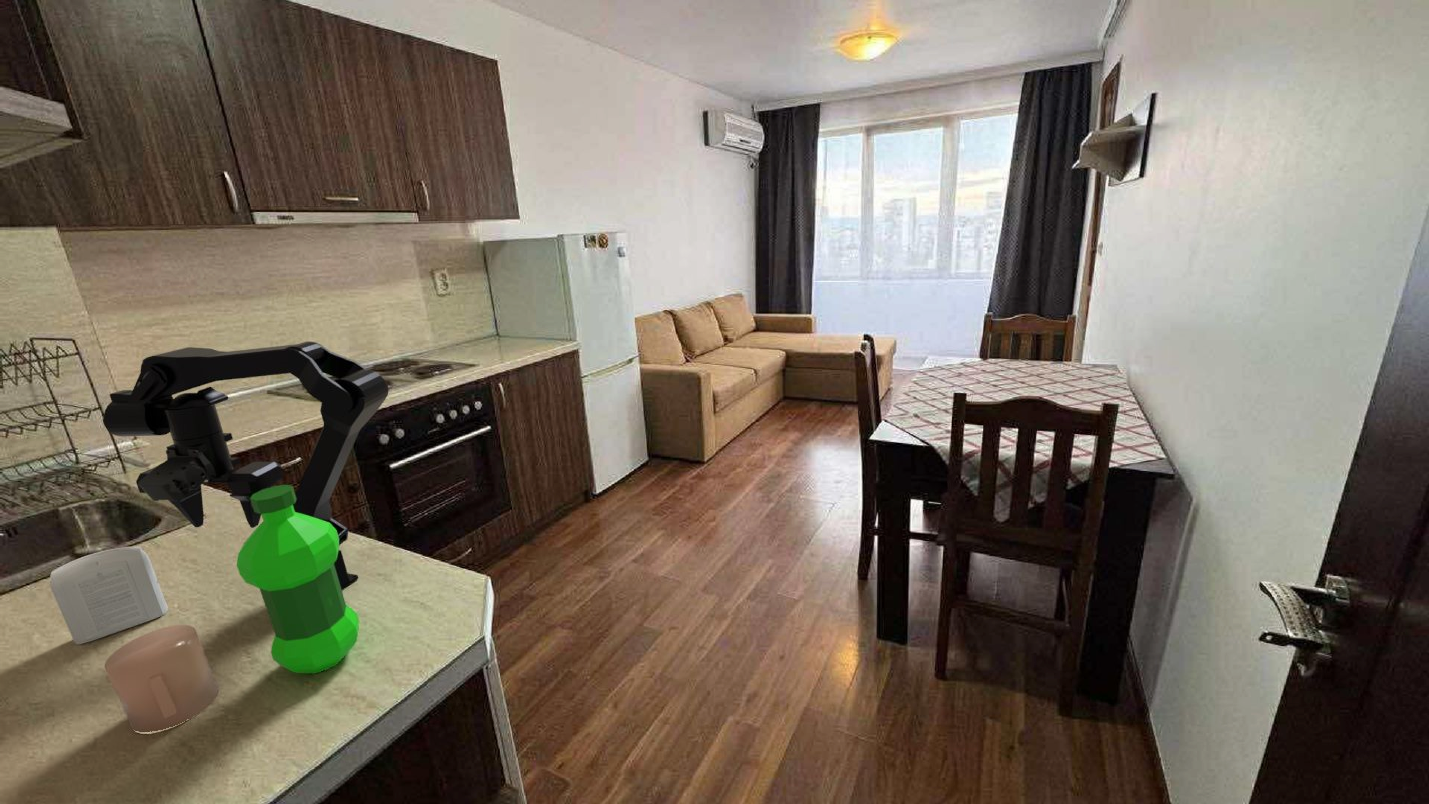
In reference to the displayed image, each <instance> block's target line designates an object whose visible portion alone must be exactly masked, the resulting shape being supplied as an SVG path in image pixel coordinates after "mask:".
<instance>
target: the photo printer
mask: <svg viewBox="0 0 1429 804" xmlns="http://www.w3.org/2000/svg"><path fill="white" fill-rule="evenodd" d="M49 577H50V581H49V586H50V590H51V591H52V592H51V593H52V594H53V596H54V597H53V598H55V602H56V603H57V606H58V608H59V611H60V612H61V615H62V618H63V619H64V621H65V625H66V626H67V628H68V631H69V633H70V634H71V637H72V640H73V641H74V643H75V644H77V645H82V644H86V643H89V642H93V641H95V640H99V639H100V638H104V637H106V636H110V635H112V634H115V633H118V632H121V631H124V630H127V629H130V628H132V627H135V626H139V625H141V624H144V623H146V622H149V621H152V620H155V619H157V618H159V617H162V616H164V615H166V613H167V612H168V610H169V607H168V605H167V602H166V599H165V597H164V594H163V592H162V591H163V590H162V589H161V586H160V583H159V581H158V578H157V575H156V573H155V569H154V567H153V565H152V562H151V560H150V557H149V556H148V554H147V553H146V552H145V551H144V550H143V548H142V547H141V546H140V545H139V546H137V545H136V546H134V545H133V546H123V547H116V548H111V549H106V550H102V551H98V552H94V553H91V554H88V555H85V556H82V557H79V558H77V559H74V560H72V561H70V562H67V563H66V564H64V565H61V566H59V567H57V568H55V569H54V570H52V571H51V573H50V575H49Z"/></svg>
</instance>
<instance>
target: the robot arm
mask: <svg viewBox="0 0 1429 804" xmlns="http://www.w3.org/2000/svg"><path fill="white" fill-rule="evenodd" d="M284 374H287V375H288V374H291V375H292V376H294V377H295V378H297V379H298V380H299V382H300V384H301V385H302V386H303V388H304V389H305V390H306V392H307V393H308V394H309V395H310V396H311V397H312V398H314V399H316V400H317V401H319V402H320V403H321V405H320V409H319V410H320V415H321V417H322V422H323V426H322V429H321V431H320V433H319V436H318V439H317V441H316V444H315V446H314V448H313V450H312V453H311V455H310V458H309V461H308V462H307V465H306V467H305V469H304V472H303V474H302V477H301V480H300V481H299V485H298V486H297V488H296V491H295V495H296V499H297V500H296V502H295V504H293V507H294V510H295V512H297V513H301V514H305V515H308V516H311V517H314V518H317V519H320V520H323V521H326V522H329V523H331V525H332V526H333V527H334V528H335V529H336V530H337V533H338V537H339V546H341V544H343V543H344V542H346V541H347V540H348V537H349V529H348V528H347V527H346V526H344V525H343V524H341V523H340V522H338V521H337V520H335V519H334V518H332V515H333V514H332V513H333V511H332V509H333V508H332V506H331V502H330V499H331V497H332V494H333V492H334V490H335V488H336V486H337V483H338V481H339V479H340V476H341V475H342V472H343V469H344V467H345V465H346V463H347V460H348V458H349V455H350V454H351V451H352V449H353V447H354V444H355V442H356V440H357V437H358V435H359V433H360V431H361V430H362V428H363V427H364V426H365V424H366V423H368V421H369V420H370V419H371V418H372V417H373V416H374V415H375V414H376V413H377V411H378V410H379V408H380V407H381V406H382V404H383V403H384V402H385V400H386V399H387V398H388V395H389V391H390V390H389V389H390V388H389V386H388V385H387V382H386V381H385V379H384V378H383V377H382V375H381V374H379V373H378V372H376V371H374V370H372V369H368V368H366V367H365V366H364V365H362V364H360V362H357V361H356V360H354V359H350V358H348V357H345V356H343V355H340V354H338V353H335V352H333V351H331V350H329V349H328V348H326V347H325V346H323V345H322V344H320V343H318V342H316V341H315V342H314V341H307V340H306V341H303V342H300V343H296V344H295V343H294V344H288V345H287V344H286V345H279V346H267V347H259V348H250V349H249V348H248V349H240V350H230V351H222V350H221V351H219V350H217V349H213V348H209V347H207V348H206V347H190V346H189V347H188V346H187V347H183V348H180V349H175V350H171V351H167V352H163V353H159V354H154V355H150V356H146V357H145V358H143V359H142V363H141V365H140V373H139V376H138V378H137V379H136V382H135V384H134V386H133V389H132V390H131V389H123V390H119V391H116V392H112V393H109V397H110V400H111V402H109V404H108V405H107V406H106V408H105V410H104V412H103V419H102V423H103V426H104V427H105V429H106V430H107V431H108V432H109V433H111V435H114V436H116V437H125V438H126V437H155V436H166V435H167V434H169V433H170V436H171V439H172V443H173V444H170V445H168V446H166V450H165V453H166V460H165V461H163V462H162V463H160V464H158V465H157V466H155V467H153V468H150V469H147V470H145V471H143V472H140V473H139V475H138V477H137V479H136V480H135V483H136V486H137V489H138V491H139V493H140V494H146V495H147V496H148V497H149V498H150V499H151V500H152V501H155V502H159V501H168V502H170V503H171V504H172V506H174V507H175V508H176V509H177V510H178V511H179V512H180V513H181V514H182V515H183V516H184V517H185V518H186V519H187V521H189V523H190V524H191V525H192V526H193V527H194V528H200V527H202V526H203V525H204V518H205V513H204V503H203V502H204V501H203V493H202V492H203V491H202V485H203V484H204V483H214V484H215V483H216V484H217V483H226V485H227V488H228V489H229V490H230V491H232V492H233V493H231V494H229V497H231V498H232V499H235V500H238V501H239V503H240V505H241V508H242V511H243V514H244V517H245V519H246V521H247V523H248V525H249V527H250V528H251V529H253V528H257V527H258V526H259V525H260V520H261V517H262V515H261V514H259V513H256V512H254V509H253V506H252V503H251V500H250V498H251V496H252V495H253V494H255V493H257V492H259V491H261V490H263V489H266V488H270V487H273V485H275V484H276V483H278V481H280V480H281V479H283V478H284V477H285V475H284V472H283V467H282V464H280V463H279V462H276V461H253V462H251V463H248V464H246V465H245V466H243V467H241V468H238V469H234V467H236V466H238V465H240V464H241V462H240V458H239V457H231V453H230V450H229V446H228V444H227V442H229V441H232V440H233V439H234V437H233V434H232V433H231V432H224V431H223V426H222V424H221V420H220V416H219V414H218V410H217V407H216V405H217V404H220V403H223V402H225V401H228V400H229V396H228V395H226V394H225V393H223V392H220V391H219V390H216V389H215V388H214V387H212V386H208V387H205V388H202V389H199V390H198V391H197V392H186V391H188V390H192V389H195V388H197V387H198V388H199V387H201V386H204V385H208V384H211V383H214V382H218V381H219V382H220V381H228V380H229V381H230V380H237V379H238V380H239V379H247V378H258V377H267V376H268V377H269V376H276V375H284ZM325 374H326V375H325ZM327 375H328V376H331V377H334V378H336V379H335V380H333V379H331V378H330V377H328V376H327ZM183 392H184V393H183ZM185 392H186V393H185ZM180 393H181V394H180ZM177 394H179V395H177ZM174 395H177V396H175V397H173V396H174ZM345 563H346V562H345V560H344V556H343V553H342V550H341V549H339V551H338V556H337V560H336V561H335V562H334V566H335V569H336V573H337V576H338V579H339V583H340V586H341V590H344V588H346V587H348V586H349V585H351V584H352V583H354V582H355V581H357V580H359V575H358V574H355V573H349V572H348V570H347V566H346V564H345Z"/></svg>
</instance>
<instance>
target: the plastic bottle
mask: <svg viewBox="0 0 1429 804" xmlns="http://www.w3.org/2000/svg"><path fill="white" fill-rule="evenodd" d="M295 493H296V491H295V489H294V486H293V485H290V484H279V485H274V486H273V485H272V486H271V487H270V488H266V489H263V490H261V491H259V492H257V493H255V494H253V495H252V496H251V498H250V500H251V503H252V506H253V509H254V512H256V513H259V514H261V517H262V520H263V521H262V522H261V523H259V524H258V525H257V526H256V527H255V529H254V530H253V532H252V533H250V535H249V536H248V538H247V539H246V540H245V542H244V543H243V544H242V546H241V548H240V550H239V552H238V554H237V559H236V567H237V570H238V573H239V576H240V577H241V578H242V579H243V580H244V582H245V583H246V584H249V585H250V586H253V587H256V588H257V589H259V590H260V593H261V597H262V599H263V603H264V605H265V608H266V611H267V614H268V617H269V620H270V623H271V626H272V629H273V632H274V637H273V641H272V644H271V651H270V653H271V657H272V659H273V660H274V661H275V662H276V663H277V664H278V665H279V666H280V667H283V668H285V669H287V670H288V671H291V672H293V673H296V674H307V675H310V674H309V673H312V674H317V673H318V672H319V673H322V672H321V671H323V670H325V671H327V670H329V669H330V668H329V667H331V668H333V667H335V666H337V665H338V664H339V663H340V662H342V660H343V659H345V657H346V656H347V654H348V653H349V652H350V651H351V649H353V647H354V646H355V644H356V642H357V641H358V633H359V627H360V618H359V615H358V613H357V612H356V611H355V610H354V609H353V608H352V607H351V606H349V605H347V604H346V601H345V598H344V597H345V596H344V594H343V591H342V590H343V589H342V590H341V586H340V583H339V579H338V576H337V573H336V569H335V566H334V562H335V561H336V560H337V556H338V551H339V550H340V545H339V537H338V533H337V530H336V529H335V528H334V527H333V526H332V525H331V523H329V522H326V521H323V520H320V519H317V518H314V517H311V516H308V515H305V514H301V513H297V512H295V510H294V507H293V504H295V502H296V500H297V499H296V495H295ZM345 655H346V656H345ZM344 656H345V657H344ZM342 658H343V659H342ZM341 659H342V660H341ZM339 661H340V662H339ZM338 662H339V663H338ZM336 664H337V665H336ZM334 665H335V666H334ZM332 666H333V667H332ZM328 668H329V669H328ZM326 669H327V670H326ZM323 672H324V671H323Z"/></svg>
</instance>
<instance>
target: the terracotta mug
mask: <svg viewBox="0 0 1429 804" xmlns="http://www.w3.org/2000/svg"><path fill="white" fill-rule="evenodd" d="M103 668H104V670H105V672H106V673H107V676H108V679H109V681H110V683H111V685H112V687H113V689H114V692H115V693H116V696H117V698H118V701H119V702H120V704H121V707H122V709H123V711H124V713H125V715H126V718H127V720H128V722H129V725H130V727H131V728H133V729H134V730H135V731H139V732H150V731H151V732H152V731H158V730H163V729H166V728H169V727H173V726H175V725H178V724H180V723H182V722H184V721H186V720H187V719H190V720H192V719H193V718H194V717H193V716H195V717H196V715H197V714H198V715H199V714H201V713H202V712H203V711H205V710H206V709H207V708H208V707H209V706H210V705H211V704H212V703H213V702H214V701H215V700H216V698H217V695H218V693H219V686H218V685H217V681H216V679H215V676H214V674H213V671H212V669H211V666H210V663H209V661H208V659H207V655H206V653H205V651H204V648H203V645H202V644H201V641H200V638H199V636H198V632H197V629H196V628H195V627H194V626H192V625H190V624H176V625H171V626H167V627H163V628H159V629H155V630H152V631H151V632H148V633H145V634H143V635H140V636H139V637H136V638H135V639H133V640H130V641H129V642H127V643H125V644H124V645H123V646H120V647H119V648H117V650H115V651H114V652H113V653H112V654H111V655H109V656H108V658H107V659H106V661H105V662H104V667H103ZM201 711H202V712H201ZM200 712H201V713H200ZM198 715H197V716H198ZM192 717H193V718H192ZM191 718H192V719H191ZM133 729H132V730H133Z"/></svg>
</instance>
